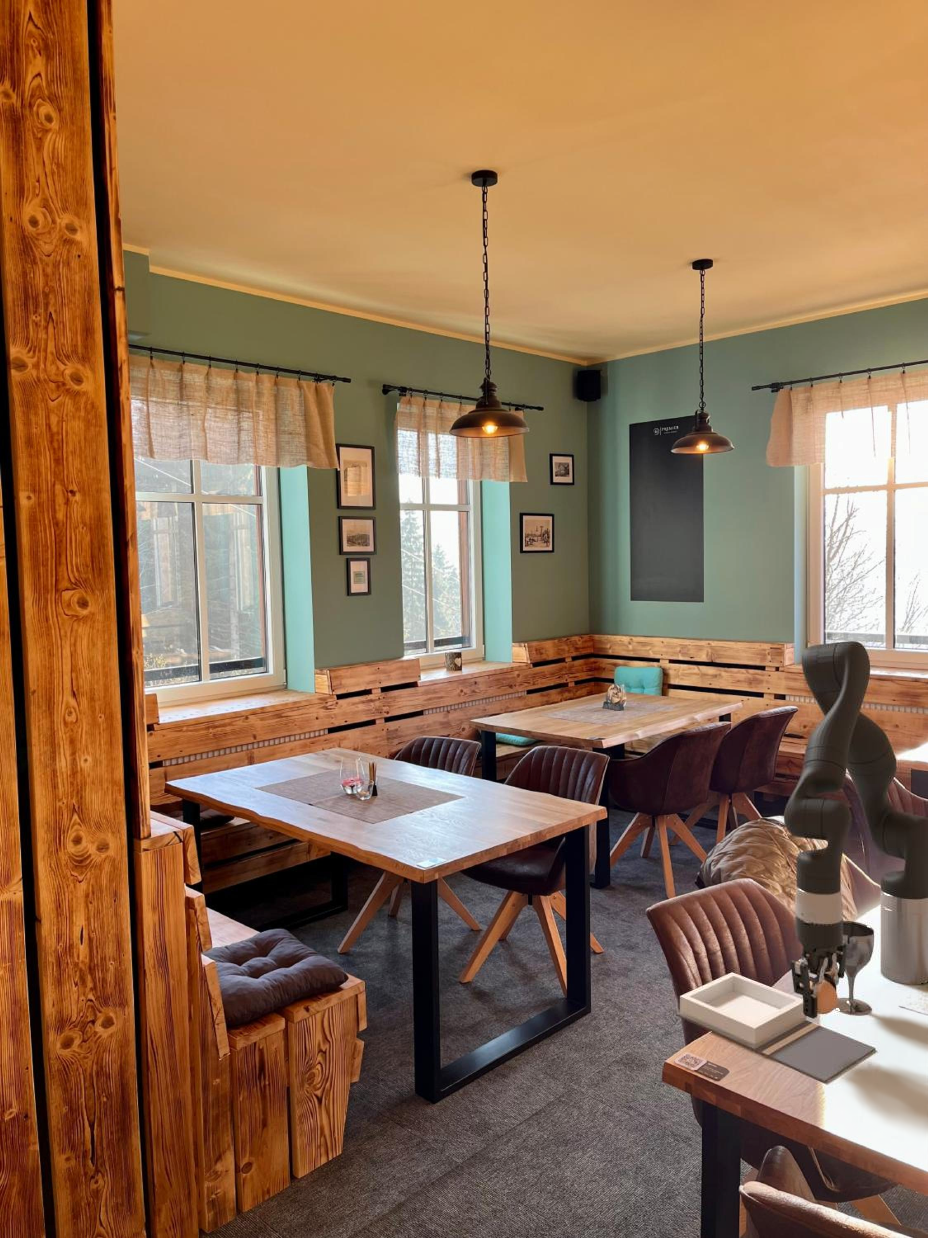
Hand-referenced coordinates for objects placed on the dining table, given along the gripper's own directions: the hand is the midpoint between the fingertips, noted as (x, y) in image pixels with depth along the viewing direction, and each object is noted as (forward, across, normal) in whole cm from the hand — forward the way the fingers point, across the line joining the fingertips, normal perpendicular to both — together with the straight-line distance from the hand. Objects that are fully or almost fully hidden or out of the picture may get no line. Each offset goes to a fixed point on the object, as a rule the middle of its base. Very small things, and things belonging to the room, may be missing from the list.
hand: (820, 1010), depth 155 cm
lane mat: (+7, 0, -9) cm, 12 cm away
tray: (+7, 0, -15) cm, 17 cm away
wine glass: (+8, -20, -5) cm, 22 cm away
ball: (-2, 0, 0) cm, 2 cm away
